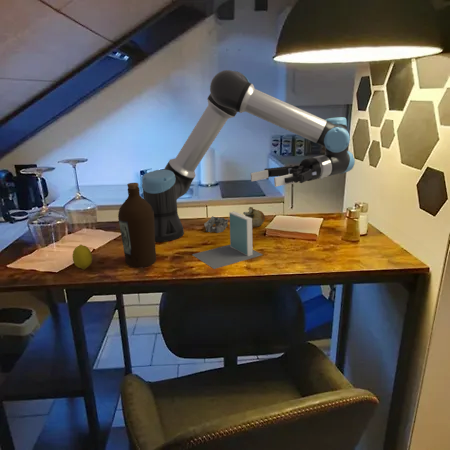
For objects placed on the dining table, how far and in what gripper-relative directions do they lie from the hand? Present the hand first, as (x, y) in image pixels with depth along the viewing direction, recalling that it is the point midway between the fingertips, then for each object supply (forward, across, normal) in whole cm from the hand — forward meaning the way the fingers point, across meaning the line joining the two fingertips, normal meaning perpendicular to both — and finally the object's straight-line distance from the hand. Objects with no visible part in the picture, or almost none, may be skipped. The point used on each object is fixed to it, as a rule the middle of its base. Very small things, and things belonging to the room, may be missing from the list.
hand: (262, 179), depth 129 cm
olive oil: (+40, +11, -20) cm, 46 cm away
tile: (+10, +1, -22) cm, 24 cm away
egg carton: (+5, +27, -22) cm, 35 cm away
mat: (+15, 0, -22) cm, 27 cm away
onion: (-8, +21, -23) cm, 32 cm away
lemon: (+57, +15, -19) cm, 62 cm away
